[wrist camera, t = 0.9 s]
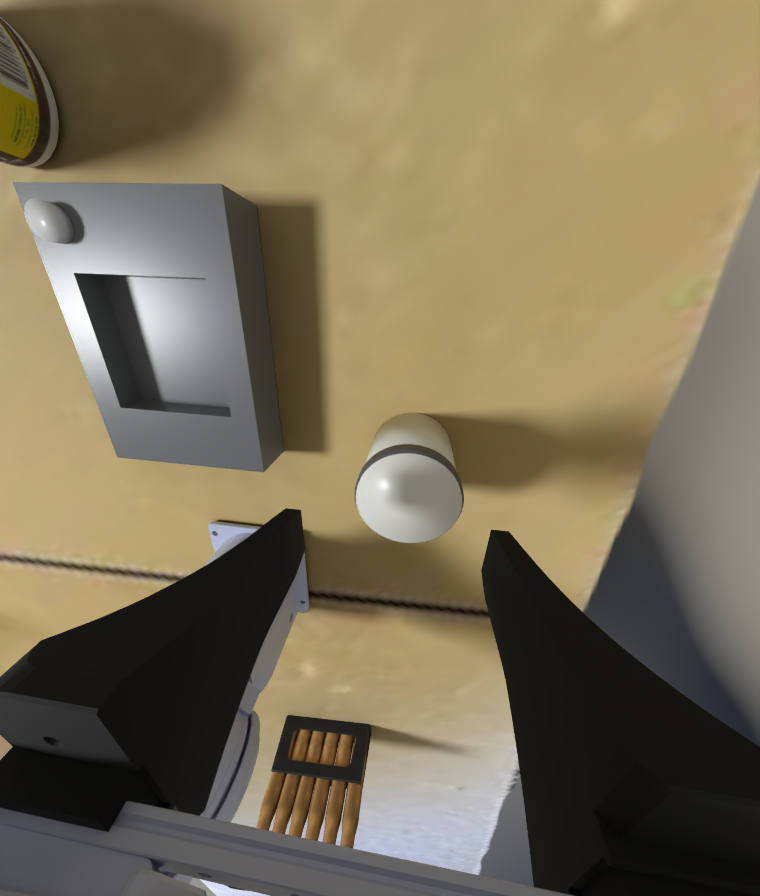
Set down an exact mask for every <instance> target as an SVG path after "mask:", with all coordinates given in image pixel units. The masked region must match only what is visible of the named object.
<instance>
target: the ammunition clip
mask: <svg viewBox="0 0 760 896" xmlns="http://www.w3.org/2000/svg"><path fill="white" fill-rule="evenodd" d="M370 738H371V728H370V725H369V724H363V723H354V722H345V721H336V720H328V719H319V718H310V717H301V716H293V715H288V716H287V718H286V721H285V725H284V728H283V732H282V735H281V739H280V742H279V745H278V749H277V752H276V756H275V759H274V763H273V766H272V770H271V771H272V774H271V777H270V780H269V783H268V787H267V790H266V793H265V796H264V799H263V802H262V806H261V810H260V815H259V820H258V823H257V827H256V828H258V829H263V830H268V831H269V828H270V824H271V822H272V819H273V817H274V814H275V812H276V817H275V822H274V826H273V830H272V832H277V833H282V834H285V831H286V828H287V824H288V822H289V819H290V817H291V814H292V820H291V826H290V831H289V835H291V836H296V837H301V836H302V832H303V828H304V825H305V822H306V819H307V816H308V812H309V816H308V826H307V832H306V837H305V839H310V840H315V841H318V838H319V833H320V829H321V826H322V823H323V820H324V815H325V810H326V805H327V800H328V795H329V789H330V786H331V789H330V795H329V800H328V806H327V811H326V817H325V830H324V837H323V842H324V843H329V844H333V845H335V843H336V838H337V833H338V829H339V826H340V822H341V816H342V810H343V804H344V798H345V791H346V788H347V793H346V799H345V806H344V813H343V820H342V837H341V846H343V847H348V848H352V849H353V845H354V839H355V834H356V830H357V826H358V820H359V812H360V804H361V796H362V789H363V782H364V776H365V770H366V763H367V757H368V750H369V744H370ZM338 743H339V746H338ZM353 743H354V746H353ZM337 748H338V751H337ZM352 748H353V752H352ZM322 750H323V751H322ZM336 753H337V756H336ZM351 754H352V759H351ZM335 758H336V762H335ZM320 759H321V760H320ZM350 760H351V763H350ZM334 764H335V766H334ZM299 783H300V784H299ZM314 786H315V787H314ZM298 787H299V788H298ZM313 790H314V792H313ZM297 791H298V792H297ZM280 795H281V796H280ZM296 795H297V796H296ZM312 795H313V797H312ZM295 799H296V800H295ZM311 799H312V801H311ZM278 802H279V803H278ZM294 803H295V804H294ZM310 803H311V806H310ZM293 806H294V808H293ZM309 808H310V810H309ZM276 809H277V811H276ZM292 810H293V812H292Z"/></svg>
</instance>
